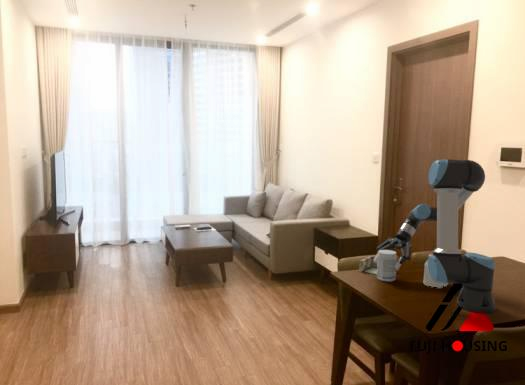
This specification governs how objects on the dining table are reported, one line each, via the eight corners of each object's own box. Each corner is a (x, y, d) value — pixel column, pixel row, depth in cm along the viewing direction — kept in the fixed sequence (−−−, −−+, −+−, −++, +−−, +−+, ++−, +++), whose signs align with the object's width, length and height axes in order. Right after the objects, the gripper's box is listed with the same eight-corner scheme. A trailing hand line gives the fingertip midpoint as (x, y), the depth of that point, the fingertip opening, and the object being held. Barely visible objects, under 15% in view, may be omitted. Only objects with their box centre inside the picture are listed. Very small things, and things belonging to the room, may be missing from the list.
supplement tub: (398, 279, 221) (400, 252, 219) (389, 283, 214) (391, 255, 212) (382, 275, 228) (384, 248, 226) (372, 278, 221) (374, 251, 219)
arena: (382, 276, 224) (382, 266, 224) (358, 271, 233) (359, 260, 232) (393, 271, 235) (393, 260, 235) (370, 266, 244) (371, 255, 243)
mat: (381, 275, 226) (381, 275, 226) (364, 271, 233) (364, 271, 233) (389, 271, 234) (389, 271, 234) (372, 267, 240) (372, 267, 240)
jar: (437, 289, 207) (440, 259, 206) (420, 283, 215) (422, 255, 213) (450, 285, 214) (452, 256, 213) (432, 279, 222) (434, 252, 220)
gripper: (428, 243, 218) (408, 275, 212) (389, 233, 239) (369, 263, 232) (423, 234, 215) (402, 267, 208) (383, 225, 235) (363, 255, 228)
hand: (385, 265), depth 220 cm, fingers open, 13 cm apart
